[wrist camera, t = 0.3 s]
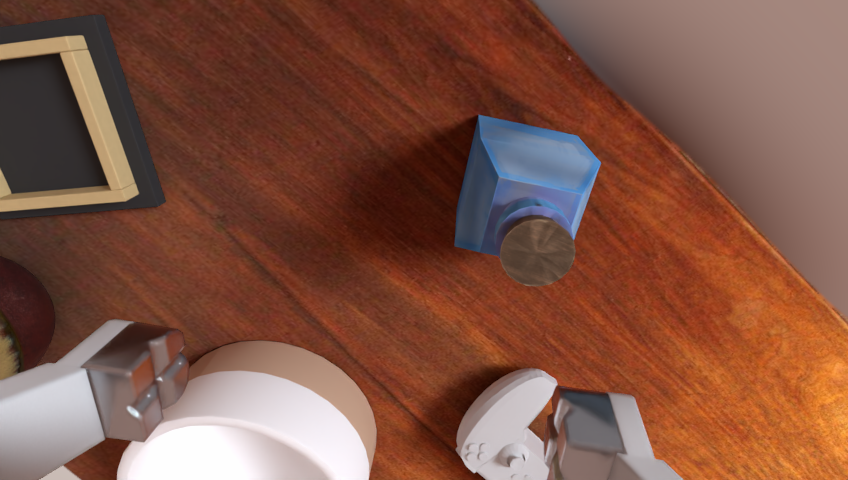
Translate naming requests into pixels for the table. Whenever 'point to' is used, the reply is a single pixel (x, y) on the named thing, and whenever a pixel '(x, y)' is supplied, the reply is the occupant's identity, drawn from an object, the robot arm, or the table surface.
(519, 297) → the table surface
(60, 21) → the picture frame
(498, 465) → the game controller
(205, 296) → the table surface
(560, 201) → the perfume bottle
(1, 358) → the vase
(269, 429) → the bowl
